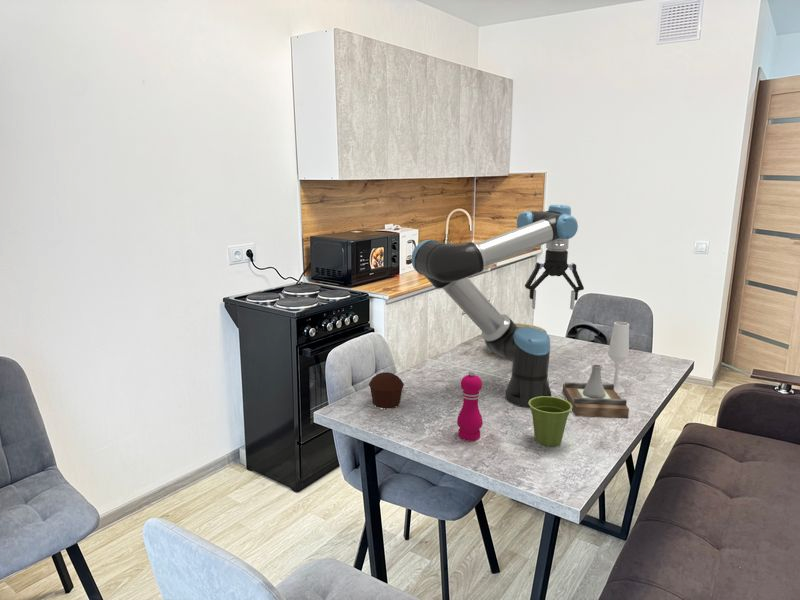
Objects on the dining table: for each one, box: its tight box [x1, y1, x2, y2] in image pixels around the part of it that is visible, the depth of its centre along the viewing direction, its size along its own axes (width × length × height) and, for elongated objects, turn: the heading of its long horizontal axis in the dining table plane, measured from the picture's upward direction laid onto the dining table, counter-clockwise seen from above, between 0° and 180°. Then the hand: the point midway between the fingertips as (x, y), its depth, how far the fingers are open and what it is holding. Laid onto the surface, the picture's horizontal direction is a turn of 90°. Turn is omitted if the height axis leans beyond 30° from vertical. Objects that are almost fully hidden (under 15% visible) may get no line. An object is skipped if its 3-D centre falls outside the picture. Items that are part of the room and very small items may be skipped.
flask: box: [583, 363, 606, 398], centre depth 182 cm, size 7×7×10 cm
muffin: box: [368, 371, 405, 410], centre depth 182 cm, size 12×11×10 cm
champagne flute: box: [607, 321, 630, 394], centre depth 194 cm, size 7×7×24 cm
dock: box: [561, 381, 630, 419], centre depth 184 cm, size 16×20×4 cm
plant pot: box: [529, 396, 573, 447], centre depth 157 cm, size 12×12×11 cm
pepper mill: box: [456, 369, 483, 442], centre depth 159 cm, size 7×7×20 cm
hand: (552, 308), depth 200 cm, fingers open, 13 cm apart
